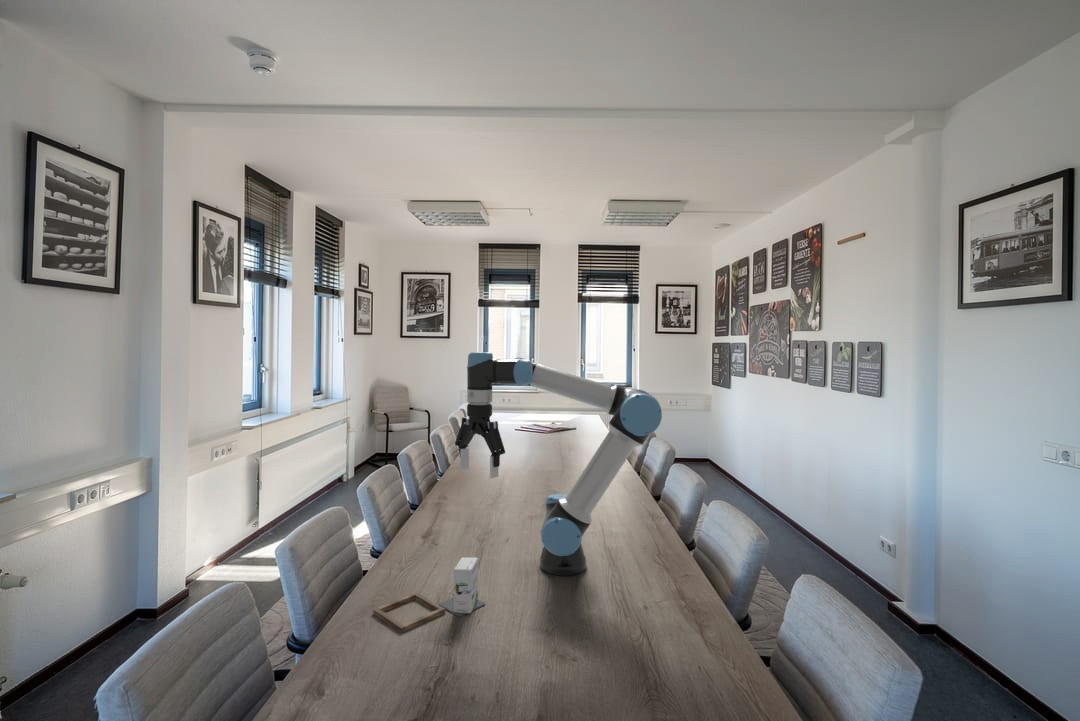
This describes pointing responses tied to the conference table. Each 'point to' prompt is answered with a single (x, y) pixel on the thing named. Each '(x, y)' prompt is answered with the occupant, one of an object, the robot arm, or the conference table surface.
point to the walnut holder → (404, 627)
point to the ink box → (465, 585)
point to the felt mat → (450, 606)
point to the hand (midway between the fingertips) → (478, 473)
